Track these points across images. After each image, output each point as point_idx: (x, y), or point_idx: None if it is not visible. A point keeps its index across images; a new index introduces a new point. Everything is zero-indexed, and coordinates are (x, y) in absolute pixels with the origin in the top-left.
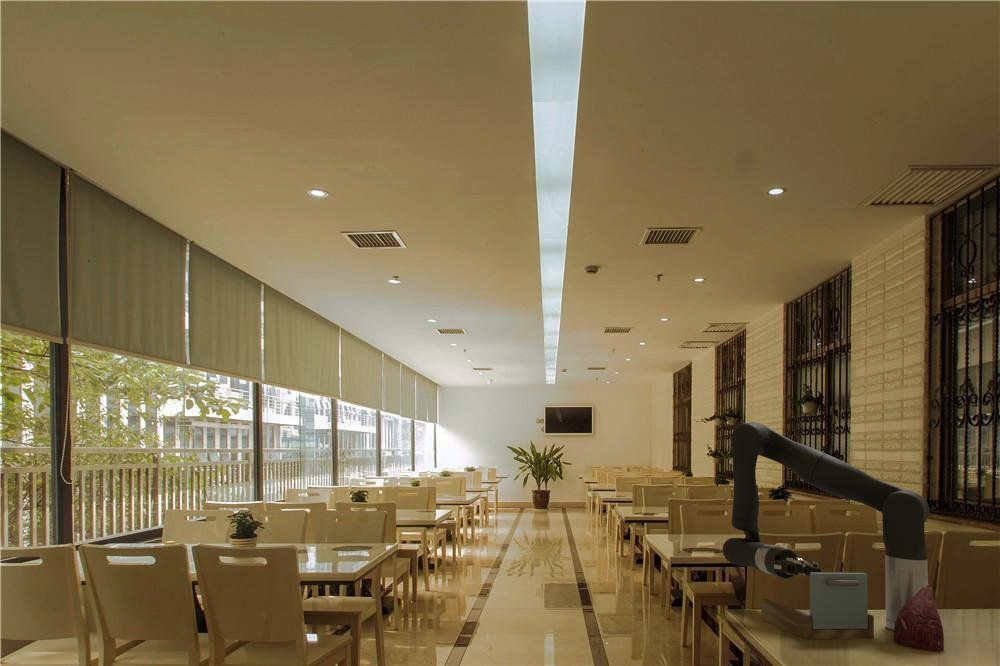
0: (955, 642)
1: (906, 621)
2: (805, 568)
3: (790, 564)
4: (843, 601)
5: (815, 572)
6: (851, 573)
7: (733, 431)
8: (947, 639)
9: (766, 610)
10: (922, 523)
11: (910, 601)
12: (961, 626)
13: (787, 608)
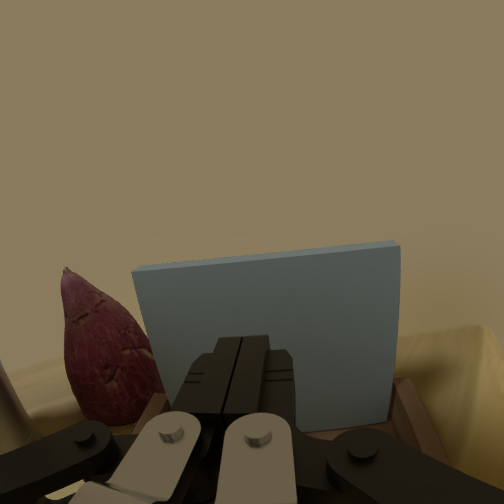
0: (40, 389)
1: (147, 344)
2: (292, 408)
3: (434, 466)
4: None
5: (374, 248)
6: (203, 261)
7: None
8: (27, 400)
9: None
10: None
11: (109, 310)
12: None
13: (444, 458)
